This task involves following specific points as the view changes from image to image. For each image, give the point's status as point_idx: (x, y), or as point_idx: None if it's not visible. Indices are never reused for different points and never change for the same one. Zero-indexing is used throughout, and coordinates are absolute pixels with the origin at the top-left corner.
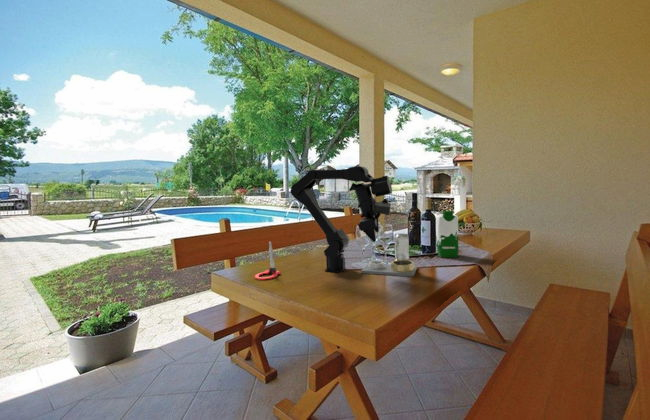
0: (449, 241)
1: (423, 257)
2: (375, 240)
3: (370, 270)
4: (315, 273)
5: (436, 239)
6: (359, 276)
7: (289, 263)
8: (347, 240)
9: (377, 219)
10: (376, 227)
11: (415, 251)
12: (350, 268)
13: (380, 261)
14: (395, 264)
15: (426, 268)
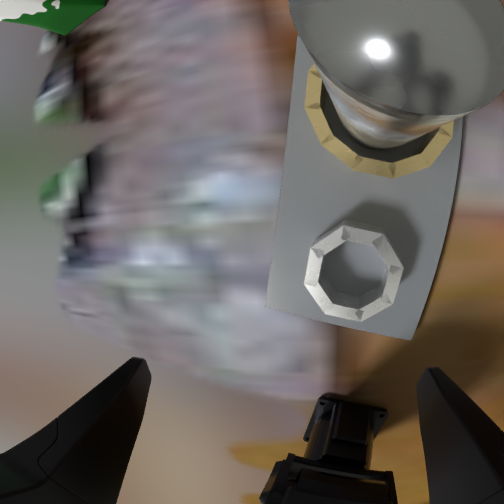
0: None
1: (98, 61)
2: (444, 374)
3: (416, 294)
4: (383, 464)
5: (29, 19)
6: (459, 334)
7: (258, 501)
8: (304, 501)
9: (51, 478)
10: (124, 411)
11: (37, 118)
12: (321, 378)
13: (328, 248)
14: (439, 149)
15: (285, 3)
